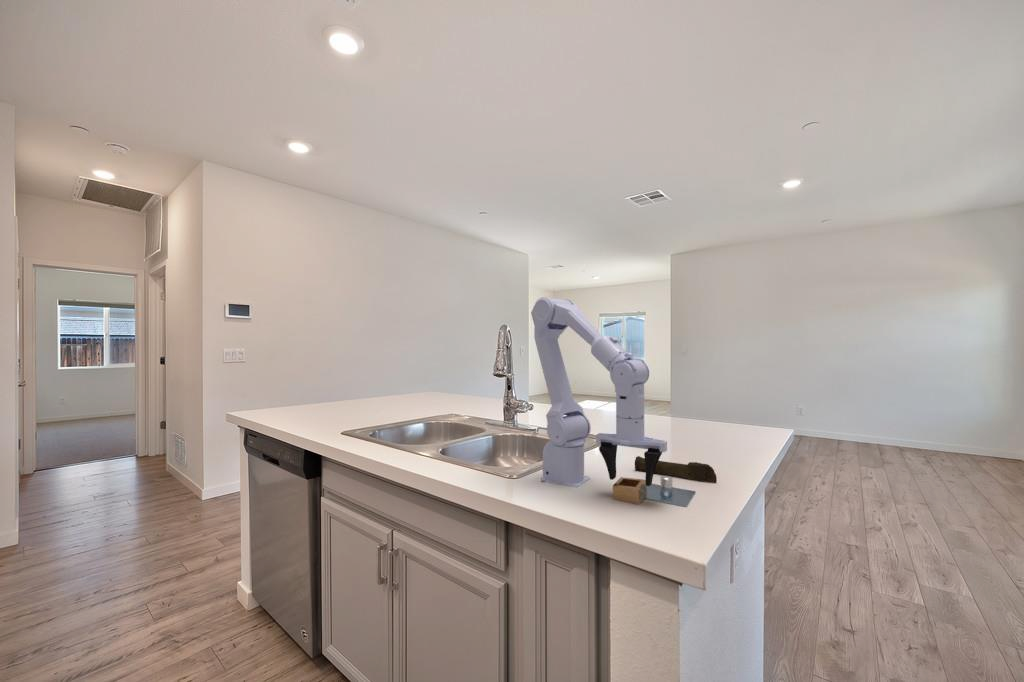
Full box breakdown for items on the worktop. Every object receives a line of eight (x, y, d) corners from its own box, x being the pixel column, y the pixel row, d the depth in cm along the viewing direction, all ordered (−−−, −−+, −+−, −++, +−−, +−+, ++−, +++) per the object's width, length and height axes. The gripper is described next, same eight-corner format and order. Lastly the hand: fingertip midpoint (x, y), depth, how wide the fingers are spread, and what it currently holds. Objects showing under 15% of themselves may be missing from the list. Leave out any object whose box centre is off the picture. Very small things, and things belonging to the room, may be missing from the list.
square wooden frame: (613, 501, 90) (612, 485, 90) (622, 491, 94) (620, 477, 94) (639, 504, 87) (638, 488, 87) (647, 494, 91) (645, 479, 91)
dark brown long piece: (633, 473, 109) (633, 455, 109) (638, 469, 113) (639, 451, 113) (713, 489, 98) (713, 469, 98) (717, 484, 101) (717, 464, 101)
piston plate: (636, 499, 91) (636, 479, 91) (649, 485, 99) (649, 467, 99) (686, 509, 85) (686, 488, 85) (695, 494, 94) (695, 475, 94)
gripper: (590, 416, 91) (590, 480, 91) (660, 423, 83) (661, 493, 83) (602, 411, 97) (602, 472, 97) (669, 417, 89) (669, 483, 89)
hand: (630, 481), depth 90 cm, fingers open, 7 cm apart
